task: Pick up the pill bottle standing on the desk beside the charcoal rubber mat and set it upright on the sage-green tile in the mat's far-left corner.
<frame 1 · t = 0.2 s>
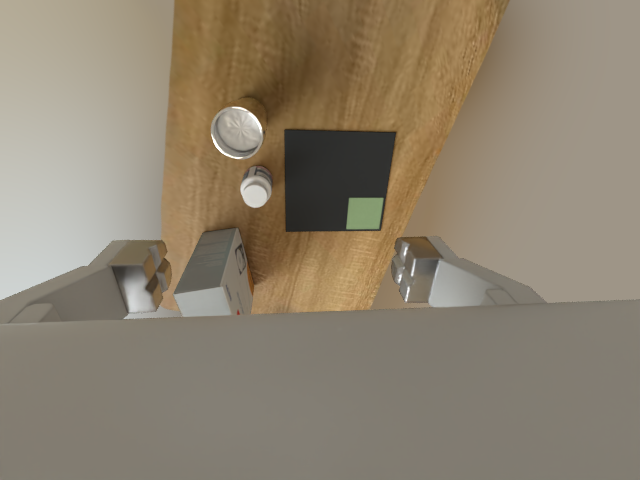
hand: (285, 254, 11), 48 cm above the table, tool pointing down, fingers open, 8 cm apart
hard drive box: (230, 259, 67), on the table
pill bottle: (258, 178, 58), on the table
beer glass: (248, 116, 53), on the table
mat: (337, 184, 60), on the table
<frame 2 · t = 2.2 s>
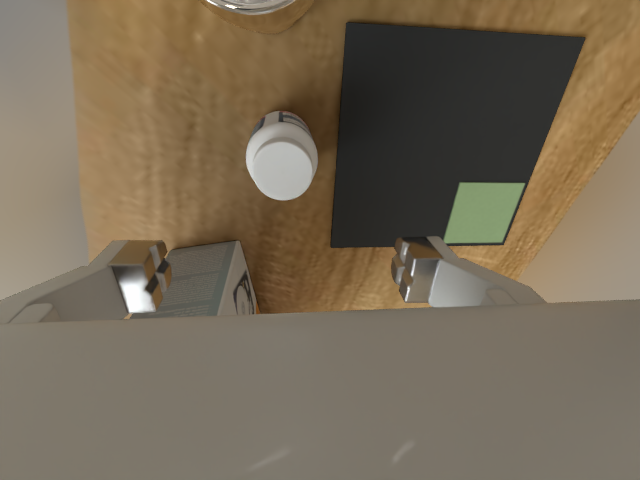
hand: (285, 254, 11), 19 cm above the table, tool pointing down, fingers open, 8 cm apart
hard drive box: (224, 297, 36), on the table
pill bottle: (282, 141, 28), on the table
mat: (439, 155, 30), on the table
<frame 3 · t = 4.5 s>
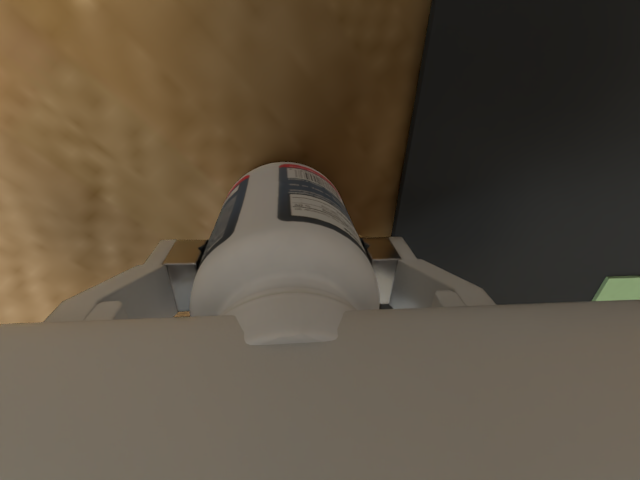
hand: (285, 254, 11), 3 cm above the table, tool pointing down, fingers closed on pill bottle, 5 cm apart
pill bottle: (285, 215, 14), on the table, touching gripper
mat: (579, 233, 16), on the table
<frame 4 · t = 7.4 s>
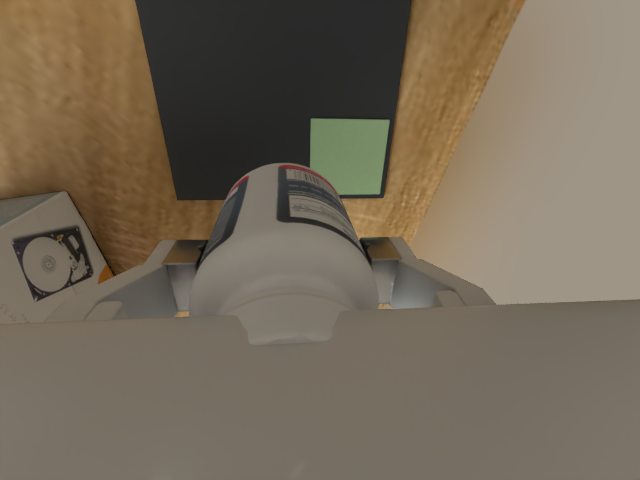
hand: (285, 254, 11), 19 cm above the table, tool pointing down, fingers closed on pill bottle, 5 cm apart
hard drive box: (71, 262, 32), on the table
pill bottle: (285, 216, 14), point 16 cm above the table, touching gripper
mat: (280, 84, 26), on the table
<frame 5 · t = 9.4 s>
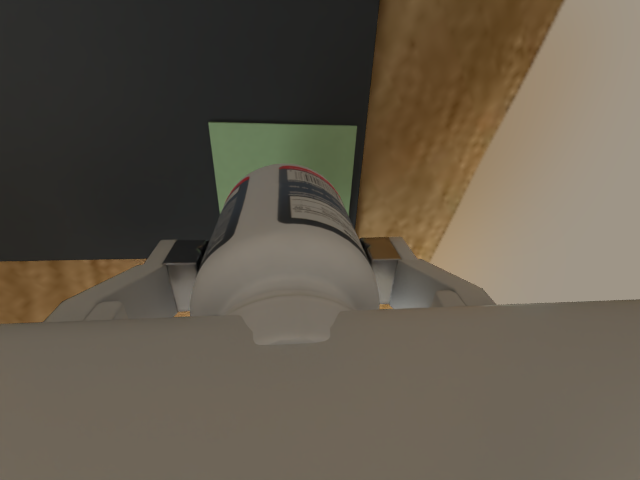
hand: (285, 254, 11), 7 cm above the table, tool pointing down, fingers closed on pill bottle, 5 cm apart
pill bottle: (285, 217, 14), point 3 cm above the table, touching gripper
mat: (143, 57, 13), on the table
when the fingers open (4 cm above the table, at t = 10.8 s): pill bottle stays where it is, resting on mat.
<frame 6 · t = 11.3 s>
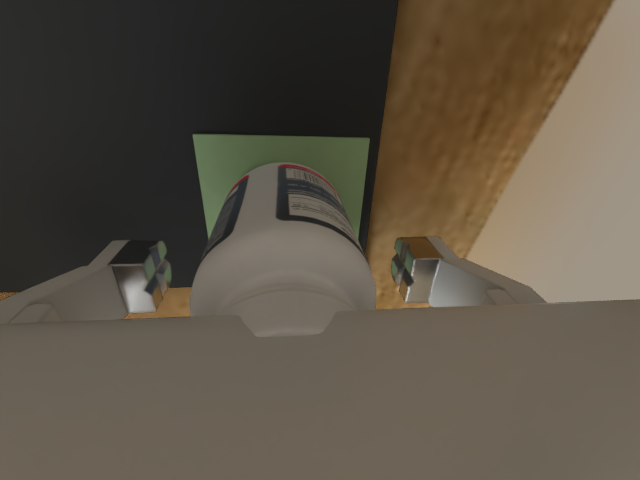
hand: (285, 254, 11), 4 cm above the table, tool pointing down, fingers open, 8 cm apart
pill bottle: (284, 215, 14), resting on mat
mat: (112, 56, 11), on the table
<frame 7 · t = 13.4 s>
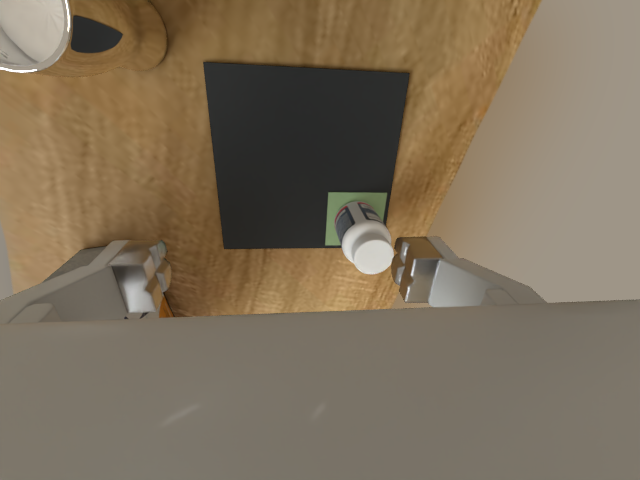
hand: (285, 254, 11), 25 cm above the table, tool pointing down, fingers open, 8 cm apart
hard drive box: (136, 294, 41), on the table
pill bottle: (354, 219, 38), resting on mat
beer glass: (132, 32, 28), on the table
mat: (307, 169, 35), on the table
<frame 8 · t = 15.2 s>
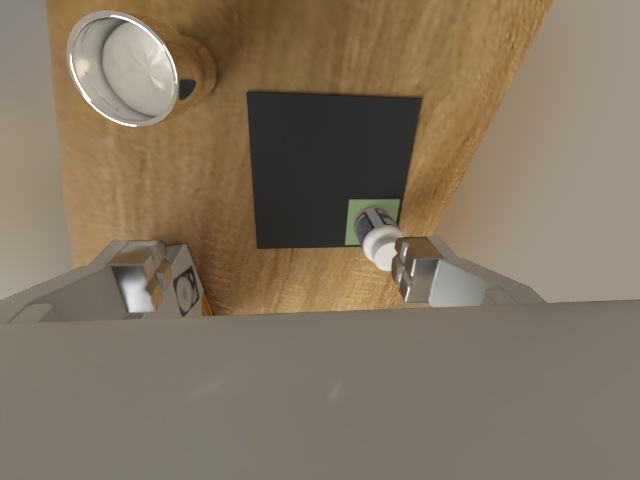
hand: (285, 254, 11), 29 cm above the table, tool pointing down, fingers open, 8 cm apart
hard drive box: (178, 288, 47), on the table
pill bottle: (371, 222, 44), resting on mat
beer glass: (188, 69, 33), on the table
mat: (331, 179, 40), on the table
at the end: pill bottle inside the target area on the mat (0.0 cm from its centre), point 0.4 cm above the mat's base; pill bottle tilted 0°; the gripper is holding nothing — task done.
